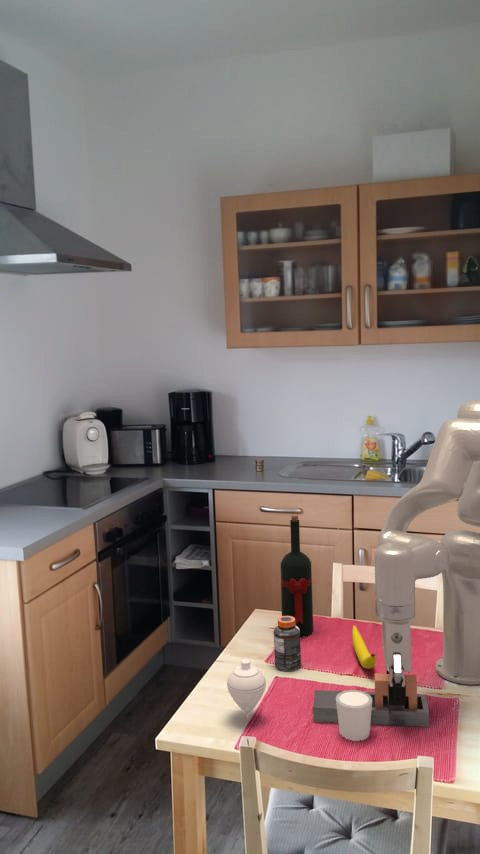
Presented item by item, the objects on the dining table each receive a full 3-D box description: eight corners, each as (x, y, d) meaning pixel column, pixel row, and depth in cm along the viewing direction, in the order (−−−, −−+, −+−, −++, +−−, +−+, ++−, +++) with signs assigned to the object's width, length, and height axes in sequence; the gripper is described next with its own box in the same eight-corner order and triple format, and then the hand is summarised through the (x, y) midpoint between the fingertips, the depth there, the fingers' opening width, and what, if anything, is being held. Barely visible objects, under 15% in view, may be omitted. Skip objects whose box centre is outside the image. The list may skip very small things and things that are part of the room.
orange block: (416, 713, 149) (416, 674, 148) (417, 721, 146) (417, 682, 145) (375, 711, 150) (374, 673, 149) (375, 719, 147) (374, 680, 146)
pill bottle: (301, 660, 174) (300, 613, 172) (300, 672, 168) (299, 623, 166) (275, 660, 175) (274, 613, 173) (274, 671, 169) (272, 623, 167)
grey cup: (332, 724, 146) (332, 690, 145) (367, 722, 147) (367, 688, 146) (340, 744, 139) (339, 708, 138) (377, 741, 140) (376, 706, 139)
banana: (360, 644, 181) (360, 619, 180) (380, 681, 162) (380, 654, 161) (348, 645, 181) (348, 620, 180) (367, 682, 162) (366, 654, 161)
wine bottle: (283, 642, 184) (280, 522, 179) (281, 625, 194) (277, 512, 189) (316, 641, 184) (313, 521, 179) (311, 624, 194) (308, 510, 190)
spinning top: (254, 731, 144) (252, 672, 143) (221, 721, 149) (218, 664, 147) (274, 713, 151) (272, 656, 149) (241, 704, 155) (239, 649, 153)
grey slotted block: (425, 708, 151) (425, 694, 150) (429, 727, 144) (429, 712, 143) (315, 703, 154) (314, 690, 154) (313, 721, 147) (313, 707, 147)
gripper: (419, 627, 136) (419, 717, 138) (411, 592, 153) (412, 673, 155) (376, 626, 137) (377, 715, 140) (374, 591, 154) (375, 671, 157)
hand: (395, 692), depth 148 cm, fingers open, 8 cm apart
